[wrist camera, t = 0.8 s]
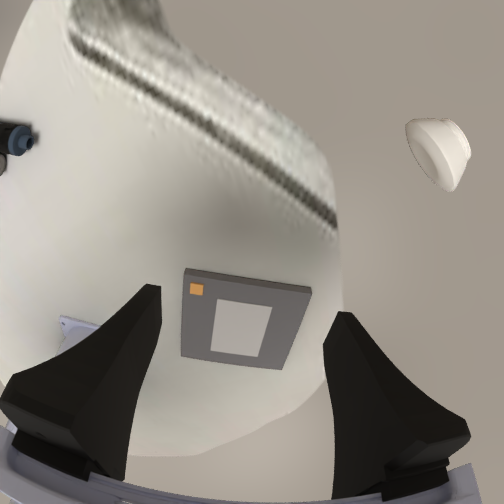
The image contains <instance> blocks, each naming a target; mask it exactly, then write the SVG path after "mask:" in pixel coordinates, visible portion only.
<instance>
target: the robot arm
mask: <svg viewBox="0 0 504 504" xmlns="http://www.w3.org/2000/svg"><path fill="white" fill-rule="evenodd" d="M59 321H60V324H61V327H62V330H63V333H64V336H65V339H64V341H63V343H62V345H61V346H60V348H59V350H58V352H57V354H56V356H55V357H54V358H52V359H50V360H48V361H46V362H43V363H41V364H39V365H37V366H34V367H32V368H29V369H27V370H24V371H21V372H19V373H16V374H13V375H12V377H11V378H10V380H9V382H8V383H7V385H6V387H5V389H4V391H3V393H2V395H1V397H0V409H1V410H2V412H3V413H4V414H5V415H6V417H8V419H9V420H8V422H7V424H6V427H3V426H1V425H0V492H2V493H3V494H5V495H6V496H8V497H10V498H11V500H10V504H129V503H132V504H482V501H481V497H480V493H479V489H478V486H477V482H476V478H475V475H474V472H473V468H472V464H471V463H468V464H465V465H463V466H460V467H457V468H454V469H452V470H450V471H448V472H447V470H446V466H448V465H449V459H448V457H450V456H451V455H452V454H454V453H455V452H456V451H458V450H459V449H460V448H462V447H463V446H464V445H466V443H467V442H468V441H469V440H470V438H471V434H470V431H469V428H468V426H467V423H466V421H465V419H463V418H462V417H460V416H458V415H456V414H454V413H453V412H451V411H449V410H447V409H446V408H444V407H443V406H441V405H440V404H438V403H437V402H435V401H434V400H433V399H431V398H430V397H429V396H427V395H426V394H425V393H424V392H422V391H421V390H420V389H419V388H418V387H416V386H415V385H414V384H413V383H412V382H411V381H410V380H409V379H408V378H407V377H406V376H404V375H403V373H402V372H401V371H400V370H399V369H398V368H397V367H396V366H395V365H394V364H393V363H392V362H391V361H390V360H389V358H388V357H387V356H386V355H385V354H384V353H383V351H382V350H381V349H380V348H379V346H378V345H377V344H376V343H375V341H374V340H373V339H372V338H371V337H370V335H369V334H368V333H367V331H366V330H365V329H364V327H363V326H362V325H361V324H360V322H359V321H358V320H357V318H356V317H355V316H354V315H353V314H352V313H350V312H341V311H338V313H337V315H336V318H335V320H334V322H333V324H332V326H331V328H330V331H329V333H328V335H327V337H326V339H325V341H324V343H323V355H324V367H325V372H326V378H327V383H328V388H329V393H330V398H331V403H332V409H333V416H334V434H335V465H334V481H333V492H332V498H331V500H324V501H311V502H294V503H293V502H289V503H258V502H238V501H225V500H215V499H206V498H198V497H191V496H185V495H179V494H173V493H168V492H163V491H158V490H154V489H149V488H145V487H141V486H137V485H133V484H129V483H125V482H122V481H123V480H124V479H125V470H126V461H127V453H128V446H129V440H130V433H131V428H132V423H133V418H134V413H135V408H136V404H137V399H138V395H139V392H140V389H141V386H142V383H143V380H144V377H145V375H146V372H147V369H148V367H149V364H150V361H151V359H152V356H153V353H154V350H155V348H156V345H157V341H158V337H159V333H160V329H161V325H162V307H161V286H157V285H151V284H145V285H144V286H143V287H142V288H141V289H140V290H139V291H138V292H137V293H136V294H135V295H134V296H133V297H132V298H131V299H130V300H129V301H128V302H127V303H126V304H125V305H124V306H123V307H122V308H121V309H120V310H119V311H118V312H116V313H115V314H114V315H113V316H112V317H111V318H110V319H109V320H107V321H106V322H105V323H104V324H103V325H102V326H100V325H96V324H92V323H88V322H85V321H81V320H77V319H74V318H70V317H67V316H63V315H60V317H59ZM63 322H64V323H63ZM123 501H125V502H123ZM126 502H129V503H126Z"/></svg>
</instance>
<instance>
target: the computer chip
mask: <svg viewBox="0 0 504 504" xmlns="http://www.w3.org/2000/svg"><path fill="white" fill-rule="evenodd" d="M311 296H312V291H311V288H309V287H302V286H295V285H288V284H282V283H275V282H268V281H262V280H255V279H248V278H242V277H236V276H229V275H223V274H217V273H211V272H205V271H198V270H192V269H187V268H186V269H185V272H184V279H183V298H182V324H181V356H182V357H188V358H193V359H199V360H205V361H212V362H218V363H225V364H233V365H240V366H248V367H257V368H266V369H276V370H282V368H283V366H284V363H285V361H286V359H287V356H288V354H289V351H290V349H291V347H292V344H293V342H294V339H295V337H296V334H297V332H298V329H299V327H300V324H301V322H302V319H303V317H304V314H305V311H306V309H307V306H308V304H309V301H310V298H311Z"/></svg>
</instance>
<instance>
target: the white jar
mask: <svg viewBox="0 0 504 504" xmlns="http://www.w3.org/2000/svg"><path fill="white" fill-rule="evenodd" d="M406 136H407V140H408V143H409V146H410V148H411V151H412V153H413V155H414V157H415V159H416V160H417V162H418V164H419V165H420V167H421V168H422V169H423V171H424V172H425V173H426V175H427V176H428V177H429V178H430V179H431V180H432V181H433V182H434V183H435V184H436V185H438V186H439V187H441V188H442V189H444V190H445V191H449V192H452V191H453V190H455V188H456V186H457V185H458V183H459V181H460V179H461V176H462V174H463V172H464V170H465V168H466V165H467V163H466V162H467V161H468V159H469V158H470V157H471V150H470V146H469V143H468V141H467V139H466V137H465V135H464V133H463V132H462V131H461V129H460V128H459V127H458V126H457V125H456V124H455V123H454V122H453V121H451V120H449V119H441V120H437V119H434V118H431V119H413V120H412V121H410V122H409V123H407V124H406Z"/></svg>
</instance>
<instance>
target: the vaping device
mask: <svg viewBox="0 0 504 504" xmlns="http://www.w3.org/2000/svg"><path fill="white" fill-rule="evenodd" d="M33 144H34V138H33V136H31V133H30V130H29V128H28V127H26V126H20V125H14V124H8V123H1V122H0V152H2V153H6V154H11V155H15V156H21V155H23V154H24V153H25V152H26V150H29V149H31V148H32V146H33ZM5 165H6V160H5V157H4V156H3V155H0V176H1V175H2V173H3V172H4V169H5Z"/></svg>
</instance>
